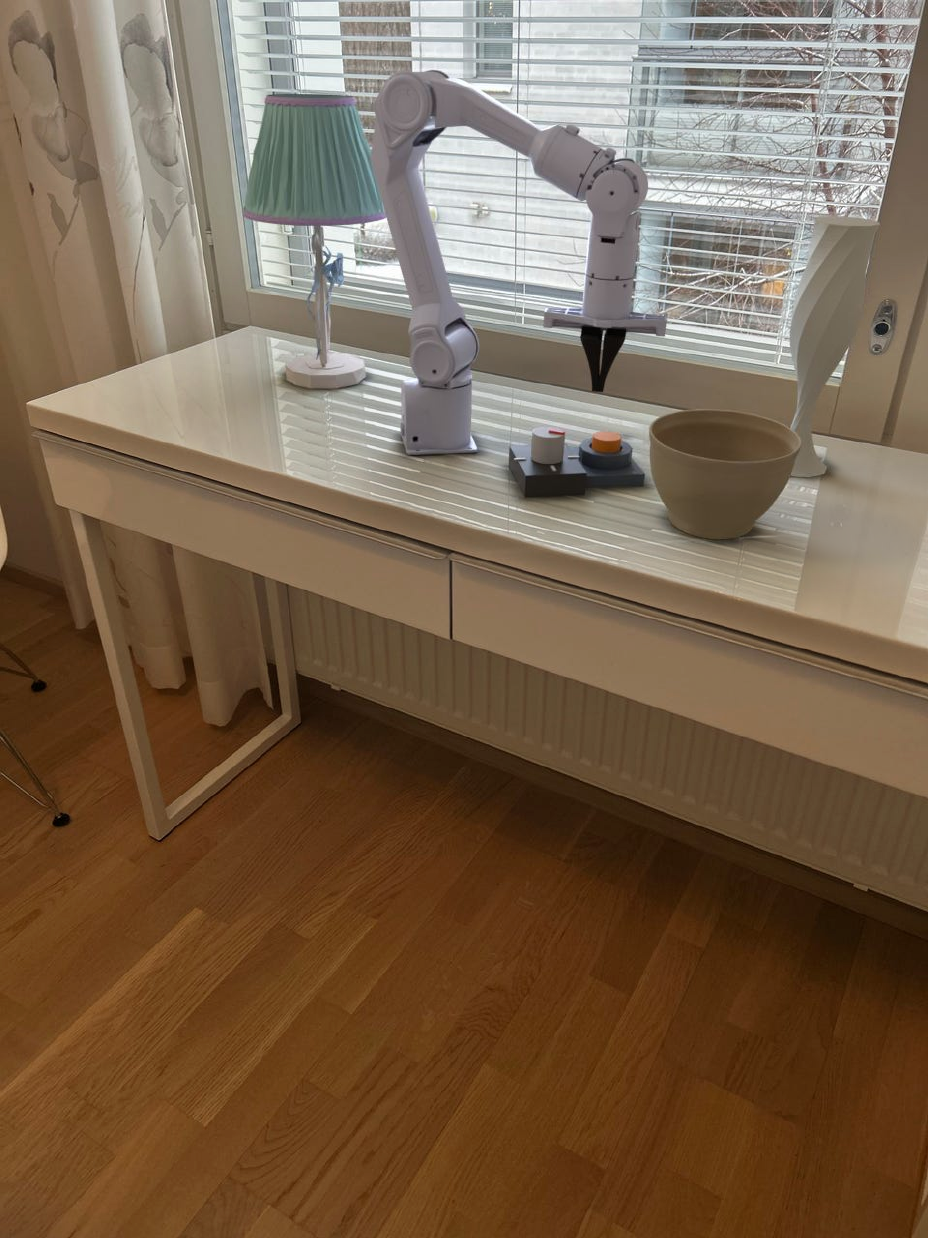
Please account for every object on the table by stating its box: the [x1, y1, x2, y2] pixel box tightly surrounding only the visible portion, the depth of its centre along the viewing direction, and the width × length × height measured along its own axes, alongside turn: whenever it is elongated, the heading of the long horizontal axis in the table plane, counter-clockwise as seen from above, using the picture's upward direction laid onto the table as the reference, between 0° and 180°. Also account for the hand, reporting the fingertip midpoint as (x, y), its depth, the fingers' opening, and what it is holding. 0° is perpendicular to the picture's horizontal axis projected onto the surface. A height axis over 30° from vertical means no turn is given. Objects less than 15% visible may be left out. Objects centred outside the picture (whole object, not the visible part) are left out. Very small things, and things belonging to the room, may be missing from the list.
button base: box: [569, 437, 646, 489], centre depth 119 cm, size 10×8×4 cm
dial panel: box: [507, 442, 587, 499], centre depth 117 cm, size 10×8×3 cm
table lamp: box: [242, 93, 387, 390], centre depth 142 cm, size 22×22×40 cm
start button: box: [591, 430, 622, 453], centre depth 118 cm, size 4×4×2 cm
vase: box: [789, 215, 881, 478], centre depth 116 cm, size 9×8×30 cm
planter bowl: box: [648, 408, 801, 540], centre depth 105 cm, size 16×16×11 cm
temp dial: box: [531, 426, 566, 464], centre depth 115 cm, size 4×4×4 cm
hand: (598, 389), depth 117 cm, fingers closed
